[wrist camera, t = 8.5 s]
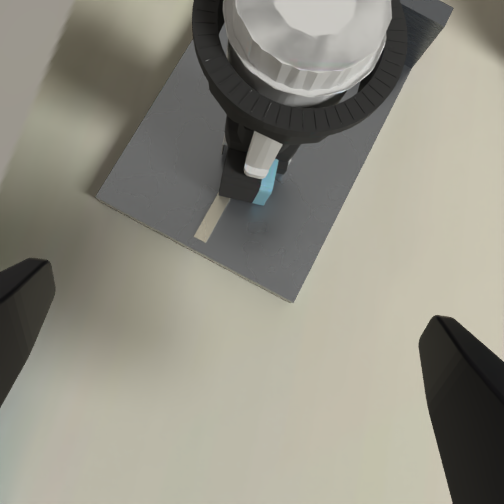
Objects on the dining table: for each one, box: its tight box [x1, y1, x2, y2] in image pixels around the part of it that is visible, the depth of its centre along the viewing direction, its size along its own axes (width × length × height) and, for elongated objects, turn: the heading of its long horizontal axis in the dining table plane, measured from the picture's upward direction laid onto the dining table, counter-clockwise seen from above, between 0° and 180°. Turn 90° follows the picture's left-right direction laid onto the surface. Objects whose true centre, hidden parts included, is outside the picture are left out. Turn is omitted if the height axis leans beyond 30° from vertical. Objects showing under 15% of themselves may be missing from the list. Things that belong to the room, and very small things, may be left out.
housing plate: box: [96, 0, 453, 303], centre depth 18 cm, size 14×10×4 cm
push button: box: [192, 0, 408, 206], centre depth 14 cm, size 7×5×10 cm
